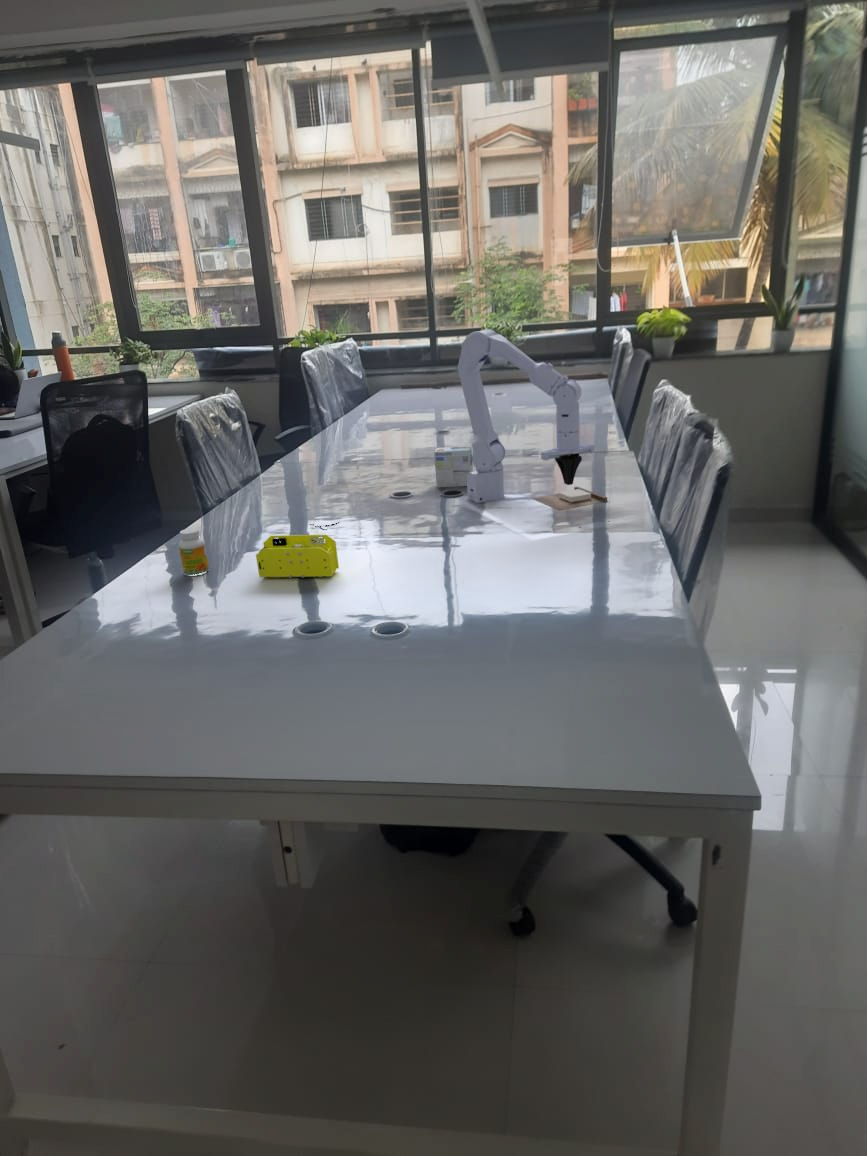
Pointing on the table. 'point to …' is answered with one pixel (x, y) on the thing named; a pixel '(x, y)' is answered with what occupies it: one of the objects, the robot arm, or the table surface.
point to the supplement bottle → (193, 552)
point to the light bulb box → (453, 466)
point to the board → (563, 504)
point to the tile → (574, 495)
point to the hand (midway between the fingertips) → (568, 483)
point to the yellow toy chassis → (297, 556)
